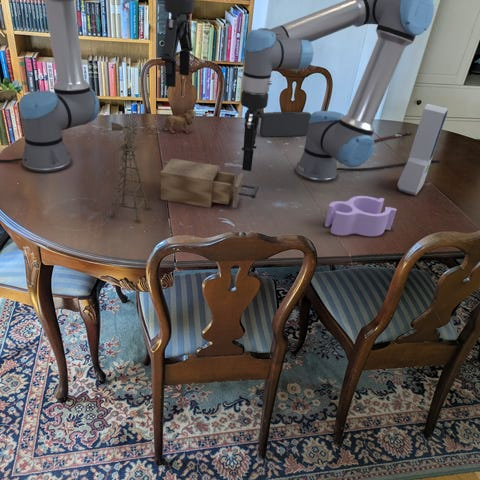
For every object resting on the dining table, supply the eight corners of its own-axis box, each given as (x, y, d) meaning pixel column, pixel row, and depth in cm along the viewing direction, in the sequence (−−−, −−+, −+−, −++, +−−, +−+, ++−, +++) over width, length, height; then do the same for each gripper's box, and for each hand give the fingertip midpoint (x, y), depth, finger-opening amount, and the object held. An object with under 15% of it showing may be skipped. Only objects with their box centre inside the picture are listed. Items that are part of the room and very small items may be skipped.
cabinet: (218, 192, 154) (219, 165, 149) (210, 207, 144) (212, 180, 139) (171, 184, 155) (171, 158, 150) (160, 199, 146) (160, 171, 141)
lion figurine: (193, 128, 201) (194, 107, 196) (196, 133, 197) (197, 112, 192) (159, 129, 196) (159, 108, 192) (162, 134, 192) (162, 112, 187)
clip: (337, 240, 135) (342, 219, 131) (318, 218, 145) (322, 198, 141) (395, 233, 141) (402, 213, 137) (373, 213, 151) (378, 194, 147)
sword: (407, 132, 223) (408, 129, 223) (413, 134, 221) (413, 131, 221) (364, 143, 208) (365, 141, 207) (370, 146, 206) (370, 143, 205)
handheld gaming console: (306, 133, 210) (309, 111, 204) (308, 135, 207) (312, 113, 202) (258, 134, 202) (261, 112, 197) (260, 137, 200) (263, 114, 195)
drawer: (257, 197, 151) (260, 176, 147) (253, 211, 143) (256, 189, 139) (197, 187, 153) (198, 166, 149) (189, 200, 145) (190, 178, 141)
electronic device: (415, 196, 164) (443, 113, 148) (394, 190, 167) (419, 107, 151) (423, 185, 173) (451, 105, 157) (404, 179, 176) (428, 100, 160)
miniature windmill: (137, 222, 133) (134, 119, 117) (109, 216, 134) (102, 114, 118) (149, 207, 141) (147, 109, 125) (122, 202, 142) (117, 104, 126)
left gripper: (179, 2, 109) (177, 93, 120) (204, -7, 130) (201, 72, 141) (148, -2, 109) (149, 89, 121) (178, -10, 130) (177, 68, 142)
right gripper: (265, 99, 123) (255, 180, 136) (271, 87, 134) (261, 163, 147) (237, 95, 124) (230, 176, 137) (245, 83, 135) (238, 159, 147)
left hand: (177, 80), depth 131 cm, fingers open, 13 cm apart
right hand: (246, 169), depth 142 cm, fingers closed
